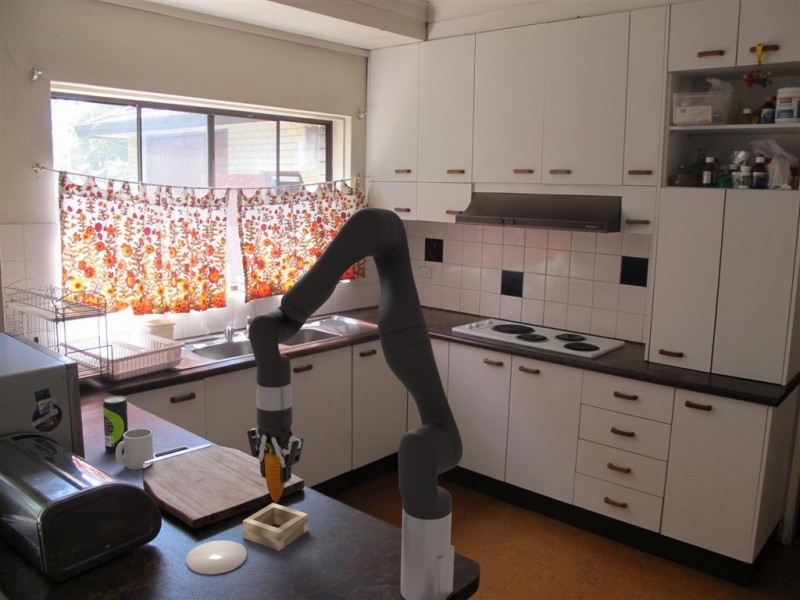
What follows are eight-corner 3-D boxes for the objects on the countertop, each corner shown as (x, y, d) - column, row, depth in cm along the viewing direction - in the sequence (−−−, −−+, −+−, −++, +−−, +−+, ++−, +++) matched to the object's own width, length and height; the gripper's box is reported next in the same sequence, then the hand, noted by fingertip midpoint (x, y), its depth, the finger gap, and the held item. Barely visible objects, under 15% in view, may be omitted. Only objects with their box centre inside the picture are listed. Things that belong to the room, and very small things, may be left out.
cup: (158, 464, 189) (157, 433, 188) (123, 475, 182) (121, 443, 180) (144, 457, 194) (143, 426, 192) (109, 467, 186) (108, 436, 185)
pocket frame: (307, 530, 156) (307, 513, 155) (279, 550, 148) (279, 533, 147) (272, 519, 161) (272, 502, 160) (243, 537, 152) (242, 520, 152)
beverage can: (129, 452, 197) (127, 401, 194) (105, 455, 194) (102, 403, 192) (128, 444, 202) (126, 394, 200) (105, 447, 200) (102, 396, 197)
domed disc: (258, 553, 146) (258, 550, 146) (217, 581, 136) (217, 578, 136) (216, 537, 152) (216, 535, 152) (173, 563, 142) (173, 560, 142)
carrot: (282, 508, 150) (281, 441, 147) (260, 506, 151) (259, 439, 148) (290, 498, 155) (290, 433, 152) (269, 495, 156) (268, 431, 153)
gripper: (312, 404, 149) (312, 480, 152) (260, 393, 156) (261, 466, 158) (290, 414, 142) (291, 493, 145) (236, 402, 149) (238, 478, 152)
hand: (275, 478), depth 152 cm, fingers closed on carrot, 4 cm apart
